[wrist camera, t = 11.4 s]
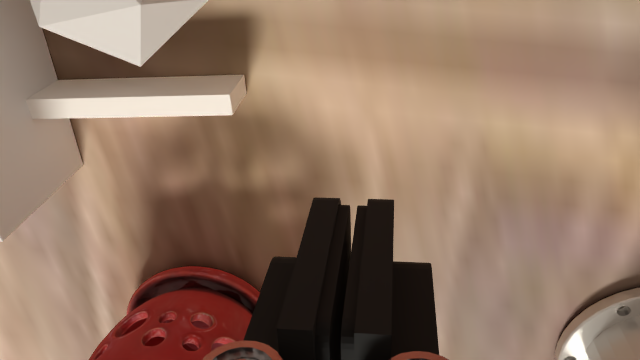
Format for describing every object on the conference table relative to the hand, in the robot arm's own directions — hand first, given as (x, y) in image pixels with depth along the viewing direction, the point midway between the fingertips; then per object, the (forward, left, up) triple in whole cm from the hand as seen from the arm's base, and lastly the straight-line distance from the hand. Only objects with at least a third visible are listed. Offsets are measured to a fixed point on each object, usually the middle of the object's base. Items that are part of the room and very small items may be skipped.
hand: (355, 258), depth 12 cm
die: (+13, -4, -22) cm, 26 cm away
